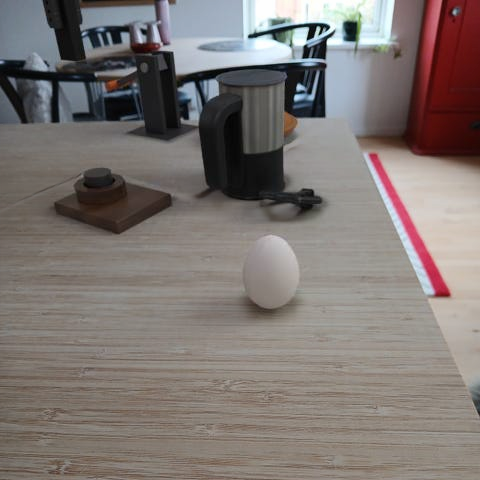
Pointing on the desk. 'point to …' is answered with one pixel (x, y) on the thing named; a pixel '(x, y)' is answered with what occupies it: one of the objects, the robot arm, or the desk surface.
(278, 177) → the milk frother
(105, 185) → the stop button
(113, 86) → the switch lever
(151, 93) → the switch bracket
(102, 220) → the brown button base
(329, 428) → the desk surface
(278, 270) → the egg
